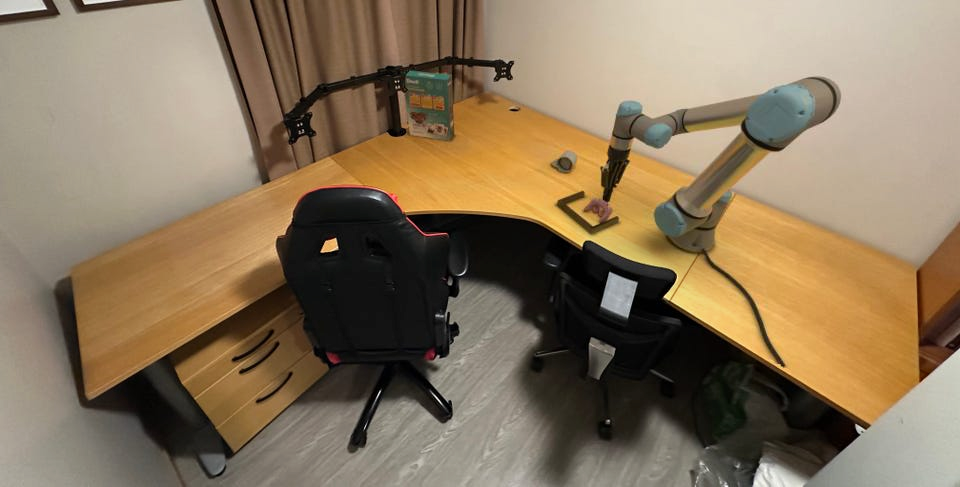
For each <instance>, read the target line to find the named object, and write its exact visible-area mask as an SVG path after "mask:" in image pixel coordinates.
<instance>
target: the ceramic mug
mask: <svg viewBox="0 0 960 487" xmlns="http://www.w3.org/2000/svg"><path fill="white" fill-rule="evenodd" d="M577 162H578V156H577V153H575V151H573V150H566V151H565V152H563V153H562V154H561V155H560V156H559V157H558V158H556V159H554V160H552V161H551V166H552V167H556V168H557V169H558V171H560V172H561V173H569V172H571V171H572V170H573V168H574V167H575V166H576V163H577Z"/></svg>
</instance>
